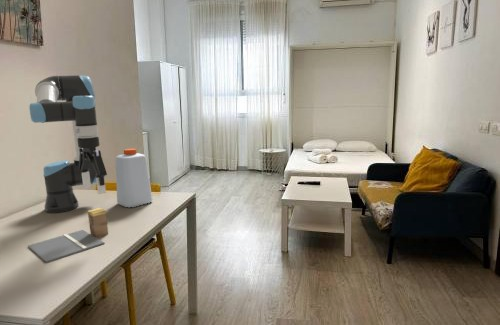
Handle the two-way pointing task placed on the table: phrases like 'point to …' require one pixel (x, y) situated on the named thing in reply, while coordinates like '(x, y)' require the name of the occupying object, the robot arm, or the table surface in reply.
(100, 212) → the block
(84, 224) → the table surface
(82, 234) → the mat
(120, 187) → the plastic bottle
